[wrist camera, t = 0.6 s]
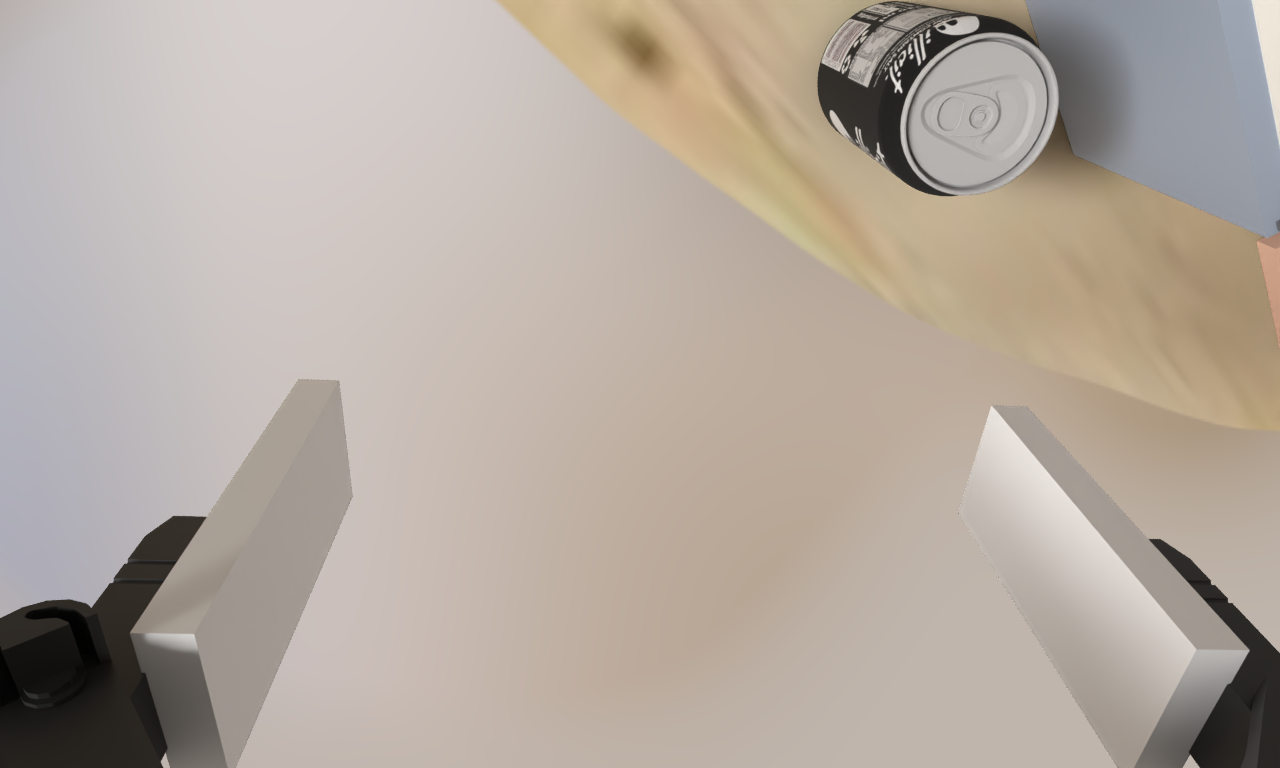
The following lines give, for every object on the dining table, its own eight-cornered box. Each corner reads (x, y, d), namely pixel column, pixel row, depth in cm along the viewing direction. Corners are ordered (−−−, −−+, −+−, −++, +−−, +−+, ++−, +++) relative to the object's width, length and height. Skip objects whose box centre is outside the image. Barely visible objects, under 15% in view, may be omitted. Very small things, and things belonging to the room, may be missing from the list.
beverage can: (926, 147, 43) (1037, 214, 32) (801, 135, 42) (872, 199, 31) (962, 8, 40) (1097, 30, 29) (828, -8, 39) (916, 9, 28)
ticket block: (1001, -75, 38) (1201, -86, 25) (1175, -178, 36) (1478, -244, 24) (1073, 154, 43) (1269, 239, 31) (1228, 72, 42) (1501, 126, 29)
